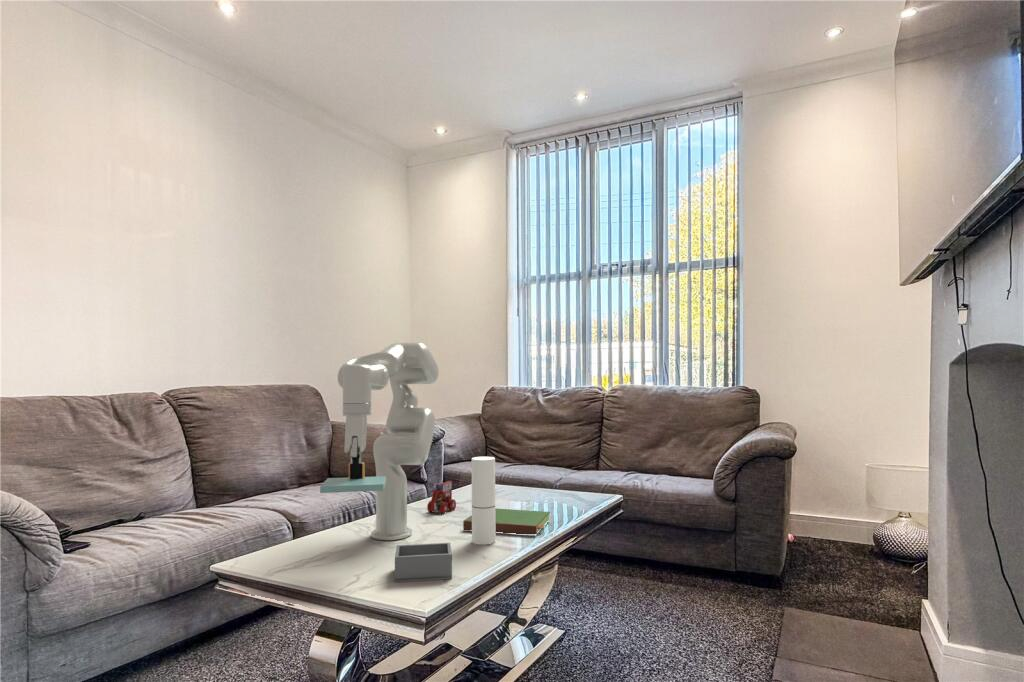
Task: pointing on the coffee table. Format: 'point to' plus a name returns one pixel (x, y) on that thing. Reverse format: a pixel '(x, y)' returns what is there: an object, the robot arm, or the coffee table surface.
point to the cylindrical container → (483, 500)
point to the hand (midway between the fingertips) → (356, 477)
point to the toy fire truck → (442, 498)
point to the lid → (353, 483)
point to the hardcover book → (515, 521)
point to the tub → (423, 562)
